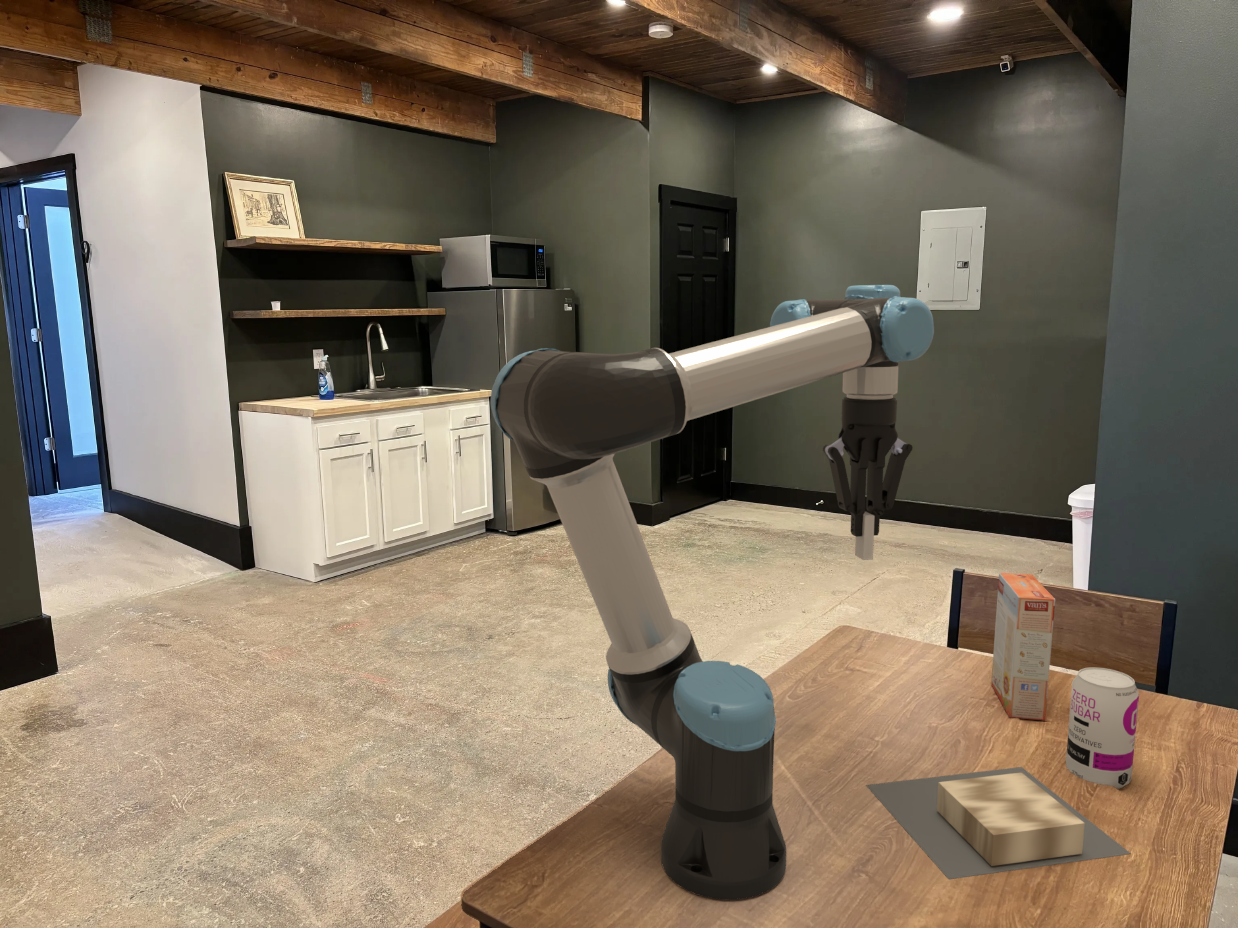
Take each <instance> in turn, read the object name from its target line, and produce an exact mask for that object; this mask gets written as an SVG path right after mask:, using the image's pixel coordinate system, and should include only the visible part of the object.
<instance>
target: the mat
mask: <svg viewBox="0 0 1238 928" xmlns="http://www.w3.org/2000/svg"><path fill="white" fill-rule="evenodd" d="M1021 772H1022V773H1023V774H1024V775H1025V776H1027V777H1028V778H1029V779H1030V780H1031V781H1033V782H1034V783H1035V784H1036V785H1038V786H1039V787H1040V788H1041V789H1043V790H1044V791H1045V792H1046V793H1048V794H1049V795H1050V796H1051V797H1053V798H1054V799H1055V800H1056V801H1058V802H1059V803H1060V804H1061V805H1063V806H1064V807H1065V808H1066V809H1068V810H1069V811H1070V812H1071V813H1073V814H1074V815H1075V816H1076V817H1078V818H1079V819H1080V820H1081V821H1083V822H1084V823H1085V825H1084V837H1083V849H1082V854H1076V855H1069V856H1061V857H1054V858H1047V859H1040V860H1032V861H1025V862H1018V863H1011V864H1003V865H996V866H991V865H990V864H989V863H988V862H987V861H986V860H985V859H984V858H983V857H982V856H981V855H980V854H979V853H978V852H977V851H976V850H975V849H974V848H973V847H972V846H971V845H970V844H969V843H968V842H967V841H966V840H965V839H964V838H963V837H962V836H961V834H960V833H959V832H958V831H957V830H956V829H955V828H954V827H953V826H952V825H951V824H950V823H949V822H948V821H947V820H946V819H945V818H944V817H943V816H942V815H941V814H940V813H939V812H938V811H937V800H938V782H945V781H953V780H962V779H970V778H979V777H987V776H996V775H1004V774H1013V773H1021ZM865 786H866V788H867V789H868V790H869V791H870V792H871V793H872V795H874V797H875V798H876V799H877V800H878V801H879V803H880V804H881V805H882V806H884V807H885V809H886V810H887V811H888V813H890V815H891V816H892V817H893V818H894V819H895V820H896V821H897V823H898V824H899V825H900V827H902V828H903V830H904V831H906V833H907V834H908V835H909V836H910V837H911V838H912V840H913V841H914V842H915V843H916V844H917V846H918V847H919V848H920V849H921V850H922V851H923V852H924V853H925V854H926V856H927V857H928V858H929V859H930V860H931V861H932V862H933V863H934V865H936V866H937V868H938V869H939V871H941V873H942V874H943V875H944V876H945V877H946V878H947V880H955V879H962V878H969V877H975V876H983V875H990V874H997V873H998V874H999V873H1005V872H1012V871H1018V870H1019V871H1020V870H1027V869H1033V868H1041V867H1047V866H1056V865H1061V864H1063V865H1064V864H1071V863H1076V862H1082V861H1083V862H1084V861H1090V860H1098V859H1103V858H1104V859H1105V858H1111V857H1112V858H1113V857H1120V856H1125V855H1132V853H1131V852H1130V851H1129V850H1127V849H1126V848H1125V847H1124V846H1122V845H1121V844H1120V843H1119V842H1117V841H1116V840H1114V838H1112V837H1111V836H1109V834H1107V833H1106V832H1105V831H1103V830H1102V829H1101V828H1100V827H1098V826H1097V825H1096V824H1094V823H1093V822H1092V821H1091V820H1089V819H1088V818H1087V817H1086V816H1084V815H1083V814H1081V812H1080V811H1078V810H1077V809H1075V808H1074V807H1073V806H1072V805H1070V804H1069V803H1068V802H1067V801H1065V800H1064V799H1063V798H1061V797H1060V795H1058V794H1056V793H1055V792H1054V791H1052V789H1050V788H1049V787H1048V786H1046V785H1045V784H1044V783H1042V782H1041V781H1040V780H1039V779H1037V778H1036V777H1035V776H1033V774H1032V773H1030V772H1029V771H1027V769H1025V768H1024V767H1022V766H1018V767H1017V766H1015V767H1009V768H1001V769H1000V768H999V769H993V770H992V769H991V770H985V771H983V770H982V771H975V772H966V773H957V774H949V775H939V776H931V777H923V778H916V779H915V778H914V779H907V780H906V779H905V780H898V781H888V782H881V783H880V782H879V783H874V784H873V783H871V784H866V785H865Z"/></svg>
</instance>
